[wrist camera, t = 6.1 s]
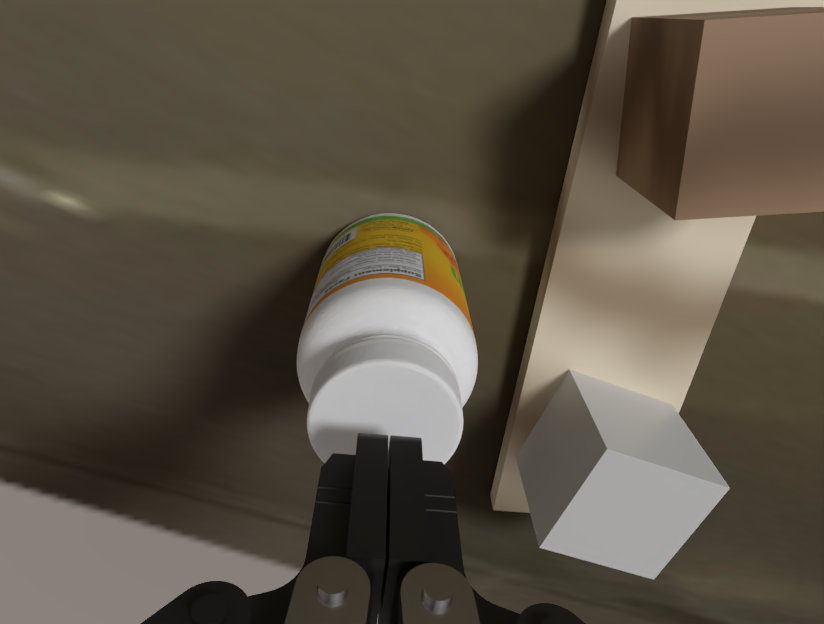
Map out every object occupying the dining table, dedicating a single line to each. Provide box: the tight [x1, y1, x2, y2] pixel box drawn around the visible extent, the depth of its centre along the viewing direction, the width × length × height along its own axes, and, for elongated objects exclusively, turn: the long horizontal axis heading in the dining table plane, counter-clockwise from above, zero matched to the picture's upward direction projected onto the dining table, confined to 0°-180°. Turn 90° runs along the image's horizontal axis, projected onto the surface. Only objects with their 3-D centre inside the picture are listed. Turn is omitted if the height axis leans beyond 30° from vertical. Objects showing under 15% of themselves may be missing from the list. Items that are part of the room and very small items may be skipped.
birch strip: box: [490, 0, 824, 513], centre depth 23 cm, size 24×7×1 cm, turn 173°
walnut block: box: [616, 7, 824, 220], centre depth 18 cm, size 5×5×5 cm
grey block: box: [516, 369, 730, 579], centre depth 24 cm, size 5×5×5 cm
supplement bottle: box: [297, 213, 478, 464], centre depth 19 cm, size 5×5×10 cm
